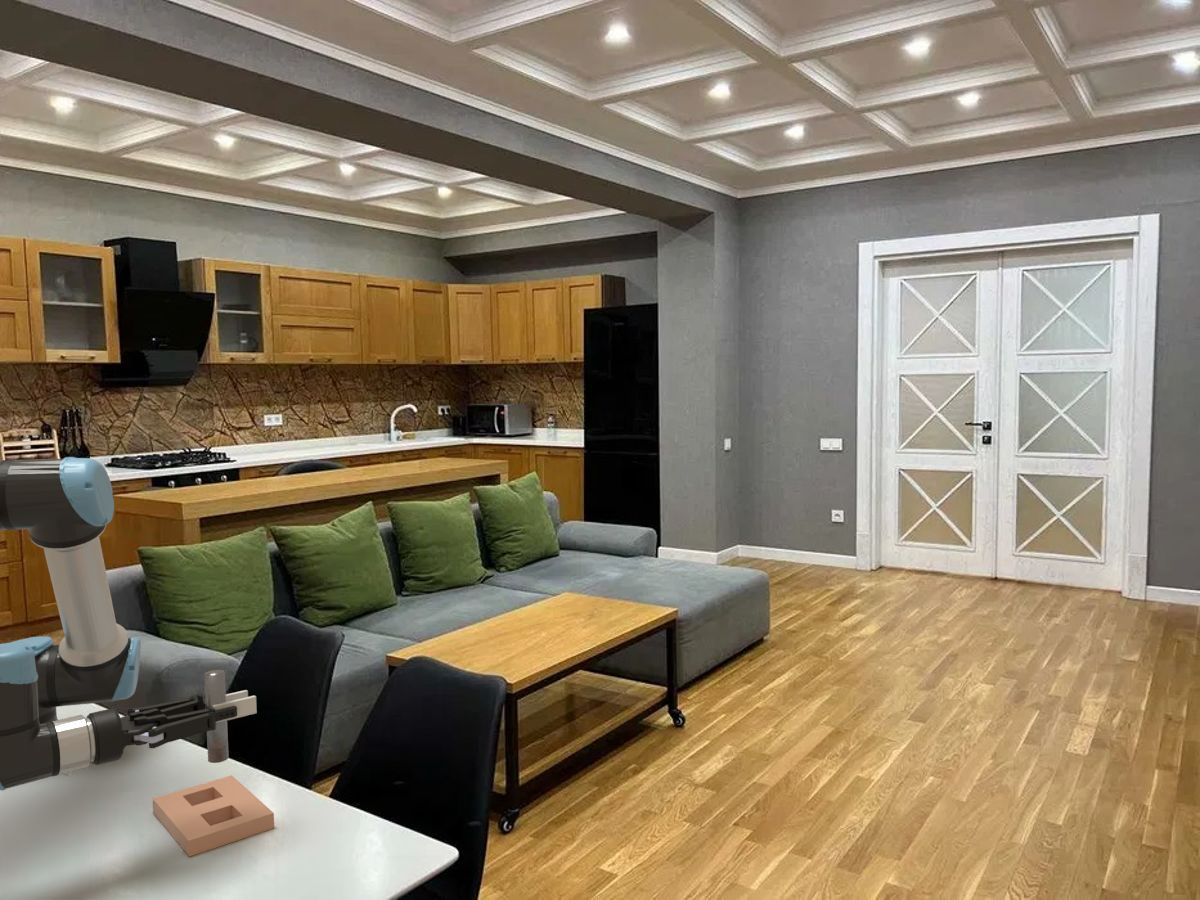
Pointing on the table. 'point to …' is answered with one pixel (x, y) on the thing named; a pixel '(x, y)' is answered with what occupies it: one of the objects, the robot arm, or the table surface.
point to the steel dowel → (219, 736)
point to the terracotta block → (212, 814)
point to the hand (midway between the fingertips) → (251, 701)
